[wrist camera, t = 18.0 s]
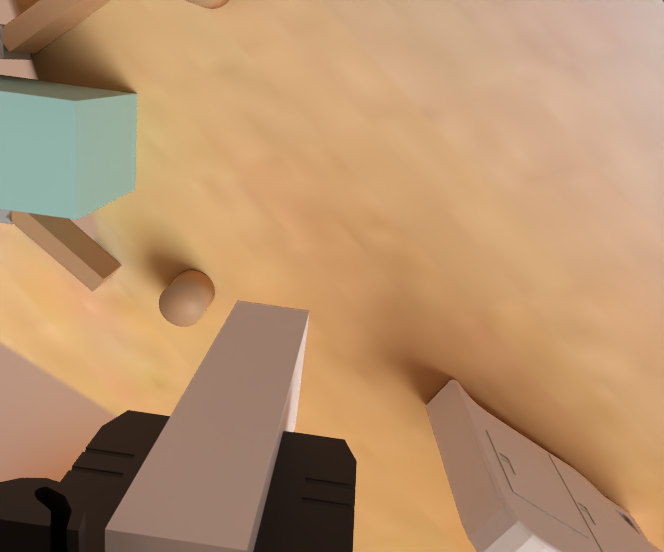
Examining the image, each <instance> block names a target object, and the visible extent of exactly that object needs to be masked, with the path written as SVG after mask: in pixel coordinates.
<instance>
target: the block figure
mask: <svg viewBox="0 0 664 552" xmlns="http://www.w3.org/2000/svg"><path fill="white" fill-rule="evenodd" d="M109 1H110V0H39V1H38V2H36V3H35V4H34V5H32V6H31V7H30V8H28V9H27V10H26V11H24V12H23V13H21V14H20V15H19V16H17V17H16V18H15V19H13V20H12V21H11V22H9V23H8V24H7V25H3V24H0V59H25V60H31V53H37V52H38V51H40V50H41V49H43V48H44V47H46V46H47V45H48V44H50V43H51V42H53V41H54V40H55V39H57V38H58V37H60V36H61V35H62V34H64V33H65V32H67V31H68V30H69V29H71V28H72V27H74V26H75V25H76V24H78V23H79V22H81V21H82V20H83V19H85V18H86V17H88V16H89V15H90V14H92V13H93V12H95V11H96V10H97V9H99V8H100V7H102V6H103V5H105V4H106V3H107V2H109ZM186 1H188V2H191V3H194V4H196V5H199V6H202V7H205V8H210V9H214V8H219V7H221V6H223V5H225V4H226V3H227V2H228V1H229V0H186ZM0 223H6V224H15V225H16V226H17V227H18V228H19V229H20V230H22V231H23V232H24V233H25V234H26V235H27V236H29V237H30V238H31V239H32V240H33V241H34V242H35V243H37V244H38V245H39V246H40V247H41V248H42V249H44V250H45V251H46V252H47V253H48V254H49V255H51V256H52V257H53V258H54V259H55V260H56V261H58V262H59V263H60V264H61V265H62V266H63V267H64V268H66V269H67V270H68V271H69V272H70V273H71V274H73V275H74V276H75V277H76V278H77V279H78V280H80V281H81V282H82V283H83V284H84V285H85V286H86V287H88V288H89V289H90V290H91V291H92V292H93V291H94V290H95V289H97V288H98V287H99V286H100V285H102V284H103V283H104V282H105V281H107V280H108V279H109V278H110V277H111V276H112V275H113V274H114V273H115V272H116V271H117V270H118V269H119V268H120V267H121V264H120V263H118V262H117V261H116V260H115V259H114V258H113V257H112V256H110V255H109V254H108V253H107V252H106V251H105V250H104V249H103V248H101V247H100V246H99V245H98V244H97V243H96V242H95V241H93V240H92V239H91V238H90V237H89V236H88V235H87V234H86V233H84V232H83V231H82V230H81V229H80V228H79V227H78V226H77V225H75V224H74V223H73V222H72V221H71V220H70V219H69V218H62V217H54V216H47V215H40V214H33V213H26V212H19V211H12V210H4V209H0ZM214 295H215V289H214V285H213V283H212V281H211V280H210V278H209V277H208V276H207V275H205V274H204V273H202V272H199V271H196V270H188V271H184V272H182V273H181V274H179V275H178V276H177V277H176V278H175V279H174V281H173V282H172V283H171V284H170V285H169V286H168V287H167V288H166V289H165V290H164V291H163V293H162V294H161V296H160V299H159V308H160V311H161V313H162V315H163V316H164V318H165V319H166V320H167V321H169V322H170V323H172V324H174V325H176V326H181V327H186V326H191V325H193V324H195V323H196V322H198V321H199V320H200V318H201V317H202V315H203V314H204V312H205V311H206V309H207V308H208V307H209V305H210V304H211V302H212V301H213V299H214Z"/></svg>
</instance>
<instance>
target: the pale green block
mask: <svg viewBox="0 0 664 552" xmlns="http://www.w3.org/2000/svg"><path fill="white" fill-rule="evenodd" d="M136 125H137V94H136V93H129V92H121V91H114V90H107V89H99V88H92V87H85V86H77V85H70V84H62V83H55V82H48V81H40V80H35V79H28V78H20V77H13V76H5V75H0V209H4V210H12V211H19V212H26V213H33V214H40V215H47V216H54V217H62V218H69V219H76V220H77V219H79V218H81V217H83V216H85V215H87V214H89V213H91V212H93V211H95V210H97V209H99V208H100V207H102V206H104V205H106V204H108V203H110V202H112V201H114V200H116V199H118V198H120V197H122V196H123V195H125V194H127V193H129V192H131V191H133V190H135V179H136Z"/></svg>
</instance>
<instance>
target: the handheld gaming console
mask: <svg viewBox="0 0 664 552" xmlns="http://www.w3.org/2000/svg"><path fill="white" fill-rule="evenodd" d="M426 409H427V413H428V416H429V419H430V422H431V426H432V429H433V432H434V435H435V439H436V442H437V445H438V448H439V451H440V455H441V458H442V461H443V464H444V468H445V471H446V474H447V477H448V481H449V484H450V487H451V490H452V494H453V497H454V500H455V503H456V507H457V510H458V513H459V516H460V519H461V523H462V526H463V528H464V530H465V532H466V534H467V536H468V539H469V540H470V542H471V543H472V545H473V546H474V548H475V549H476V550H477V552H662V551H661V550H660V549H658V548H657V547H656V546H654V545H653V544H652V543H650V542H649V541H648V540H647V538H646V537H645V535H644V533H643V532H642V530H641V529H640V527H639V526H638V524H637V523H636V521H635V520H634V518H633V517H632V516H631V515H630V514H629V513H628V512H627V511H626V510H624V509H623V508H621V507H620V506H618V505H617V504H615V503H614V502H612V501H611V500H609V499H607V498H606V497H604V496H603V495H602V494H601V493H600V492H599V491H598V490H597V489H596V488H595V487H594V486H593V485H592V484H591V483H590V482H589V481H588V480H587V479H586V478H584V477H583V476H582V475H581V474H580V473H579V472H577V471H576V470H575V469H573V468H572V467H571V466H569V465H568V464H566V463H565V462H563V461H561V460H560V459H558V458H557V457H555V456H554V455H552V454H550V453H549V452H547V451H546V450H544V449H543V448H541V447H540V446H538V445H537V444H535V443H534V442H532V441H530V440H529V439H527V438H526V437H524V436H523V435H521V434H520V433H518V432H517V431H515V430H514V429H512V428H511V427H509V426H508V425H506V424H505V423H503V422H502V421H500V420H499V419H497V418H496V417H494V416H493V415H491V414H490V413H488V412H487V411H485V410H484V409H483V408H481V407H480V406H479V405H478V404H477V403H475V402H474V401H473V400H472V399H471V398H470V397H469V395H468V394H467V393H466V392H465V391H464V389H463V388H462V387H461V385H460V384H459V382H458V381H456V380H454V379H452V380H450V381H449V382H448V383H447V384H446V385H445V386H444V387H443V388H442V389H441V390H440V391H439V392H438V394H437V395H436V396H435V397H434V398H433V399H432V400H431V401H430V402H429V403H428V404H427V405H426Z"/></svg>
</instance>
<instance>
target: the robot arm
mask: <svg viewBox="0 0 664 552" xmlns="http://www.w3.org/2000/svg"><path fill="white" fill-rule="evenodd" d="M663 2H664V0H663ZM309 312H310V311H308V310H301V309H294V308H287V307H280V306H273V305H266V304H259V303H252V302H245V301H237V303H236V304H235V306H234V308H233V310H232V311H231V313H230V315H229V316H228V318H227V320H226V322H225V323H224V325H223V327H222V328H221V330H220V332H219V334H218V335H217V337H216V339H215V341H214V342H213V344H212V346H211V347H210V349H209V351H208V353H207V354H206V356H205V358H204V359H203V361H202V363H201V365H200V366H199V368H198V370H197V372H196V373H195V375H194V377H193V378H192V380H191V382H190V384H189V385H188V387H187V389H186V390H185V392H184V394H183V396H182V397H181V399H180V401H179V403H178V404H177V406H176V408H175V409H174V411H173V413H172V415H171V416H164V415H157V414H150V413H144V412H137V411H130V410H128V411H126V412H125V413H123V414H121V415H120V416H118V417H116V418H115V419H113V420H112V421H110V422H108V423H107V424H105V425H103V426H102V427H101V428H100V430H99V431H98V432H97V434H96V435H95V436H94V438H93V439H92V440H91V442H90V443H89V444H88V446H87V447H86V450H85V452H82V454H81V455H80V456H79V458H78V459H77V460H76V462H75V463H74V464H73V466H72V470H71V471H70V470H69V471H68V472H67V474H66V475H65V476H64V478H63V479H62V480H61V481H60V482H57V481H54V480H51V479H47V478H18V479H14V480H9V481H4V482H0V552H353V530H354V506H355V484H356V460H355V458H354V456H353V454H352V452H351V451H350V449H349V447H348V445H347V443H346V441H345V440H343V439H336V438H330V437H323V436H316V435H309V434H302V433H295V432H294V429H295V425H296V417H297V409H298V401H299V393H300V384H301V376H302V368H303V360H304V352H305V344H306V336H307V328H308V320H309Z"/></svg>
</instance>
